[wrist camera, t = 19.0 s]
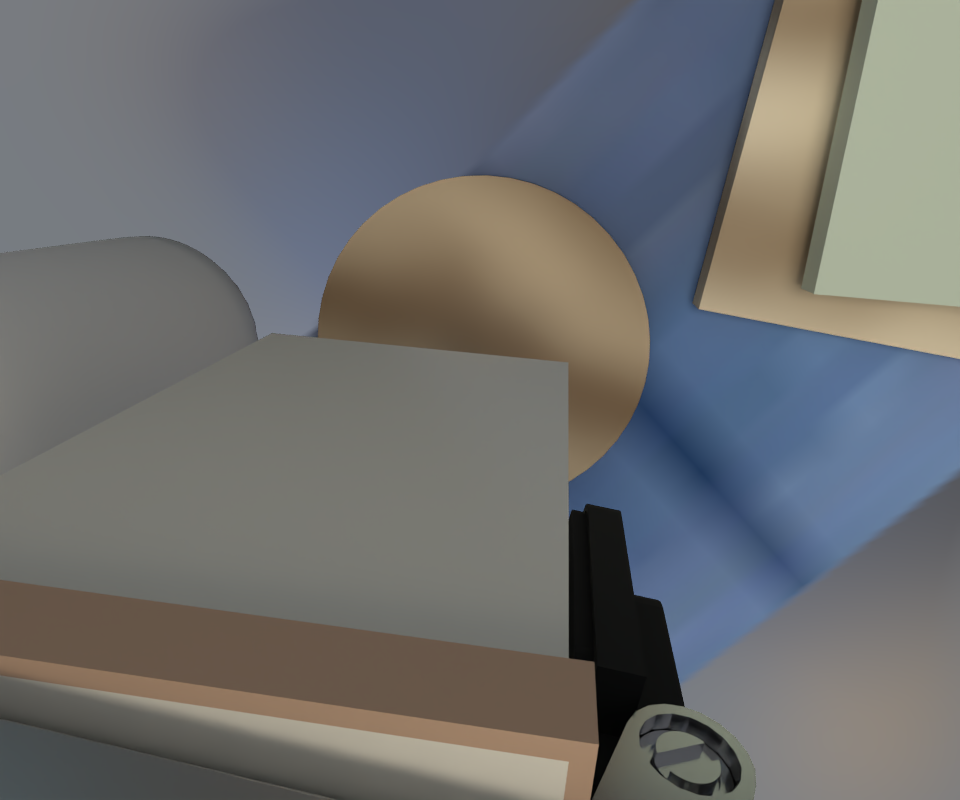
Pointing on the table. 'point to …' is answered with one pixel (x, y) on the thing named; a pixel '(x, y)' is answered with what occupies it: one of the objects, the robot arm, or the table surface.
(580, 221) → the mat
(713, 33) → the table surface
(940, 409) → the table surface
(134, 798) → the robot arm
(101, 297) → the milk bottle
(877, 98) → the green piece
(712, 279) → the stand
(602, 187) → the table surface
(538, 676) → the box with copper trim
